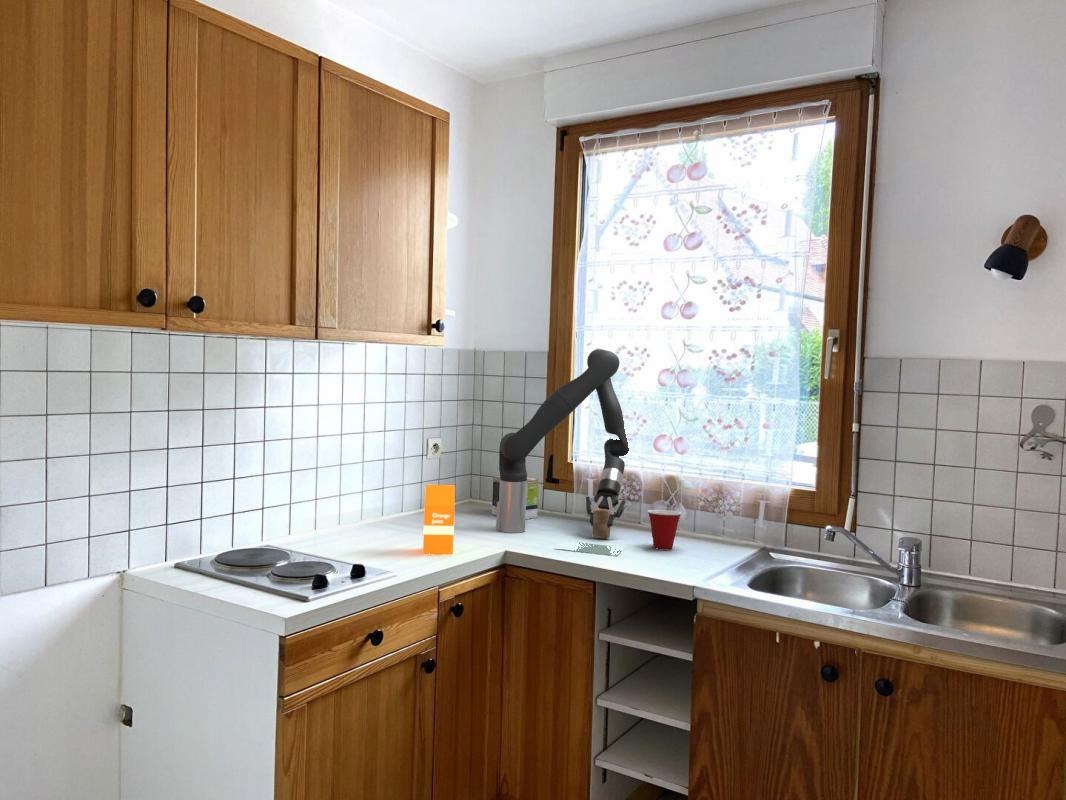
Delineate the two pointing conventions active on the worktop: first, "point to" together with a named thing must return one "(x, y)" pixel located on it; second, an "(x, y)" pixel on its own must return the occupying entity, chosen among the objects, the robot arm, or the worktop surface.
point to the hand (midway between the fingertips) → (600, 525)
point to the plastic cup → (663, 527)
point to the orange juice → (439, 519)
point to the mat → (595, 549)
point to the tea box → (530, 496)
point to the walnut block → (601, 523)
